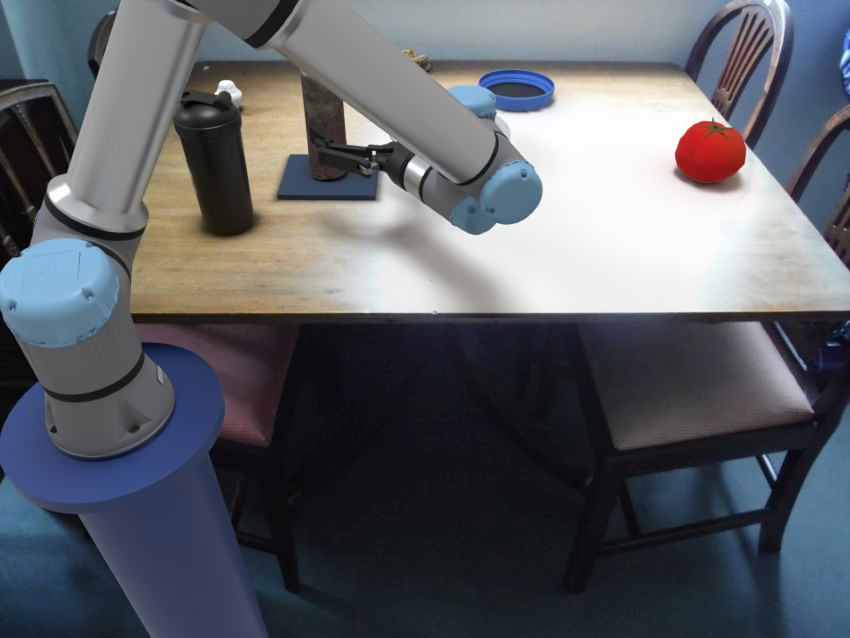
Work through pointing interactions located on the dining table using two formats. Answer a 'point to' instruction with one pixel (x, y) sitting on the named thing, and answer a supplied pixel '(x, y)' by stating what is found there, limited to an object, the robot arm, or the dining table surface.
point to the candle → (322, 122)
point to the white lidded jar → (230, 91)
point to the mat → (323, 183)
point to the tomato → (710, 152)
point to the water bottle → (216, 160)
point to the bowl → (518, 89)
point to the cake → (418, 59)
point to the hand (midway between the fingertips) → (346, 123)
